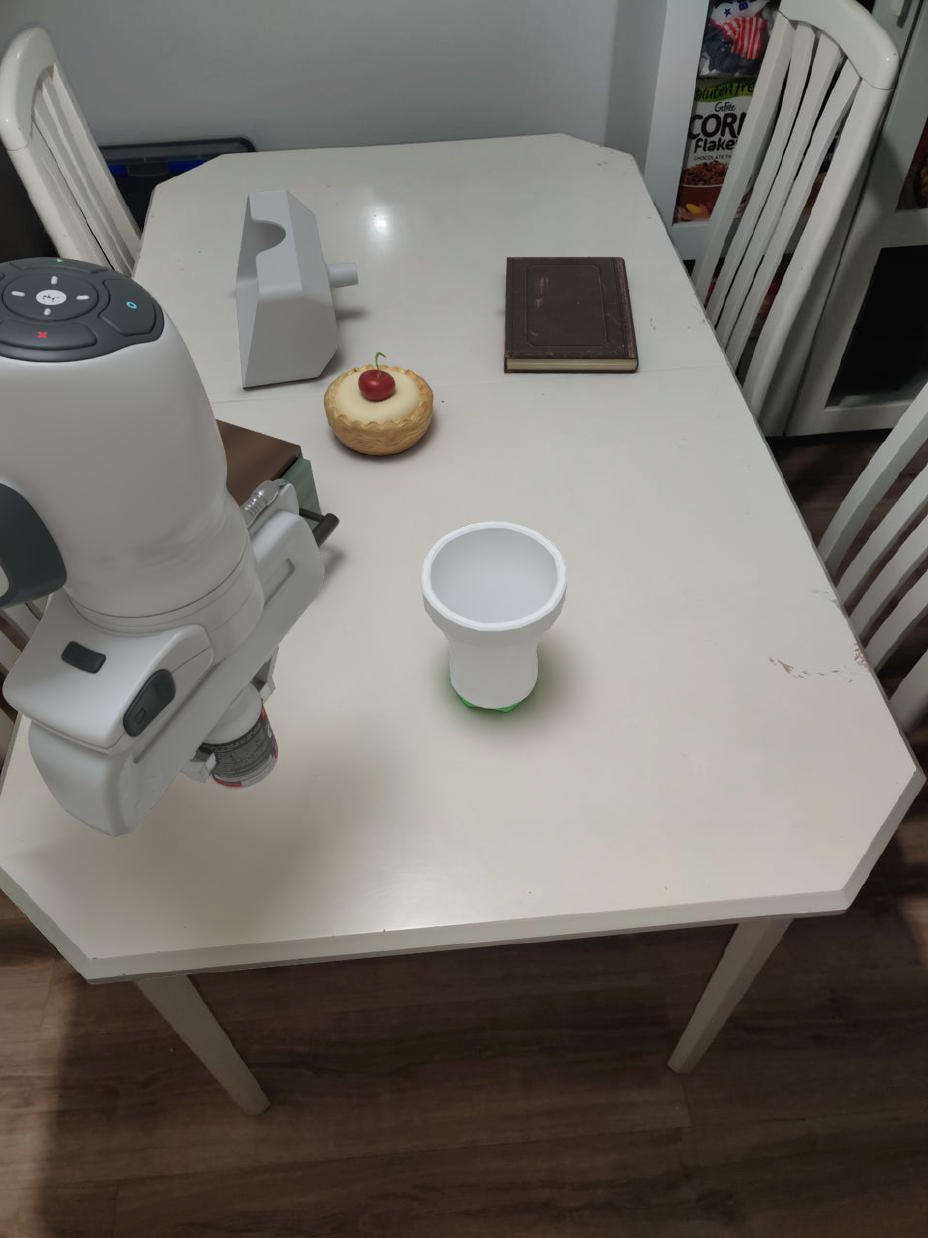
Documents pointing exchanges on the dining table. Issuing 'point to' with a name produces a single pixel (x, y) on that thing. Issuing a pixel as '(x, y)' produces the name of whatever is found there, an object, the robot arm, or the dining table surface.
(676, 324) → the dining table surface
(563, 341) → the hardcover book
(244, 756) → the pill bottle
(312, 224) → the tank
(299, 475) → the drawer
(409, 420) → the pastry
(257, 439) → the cabinet
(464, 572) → the cup
